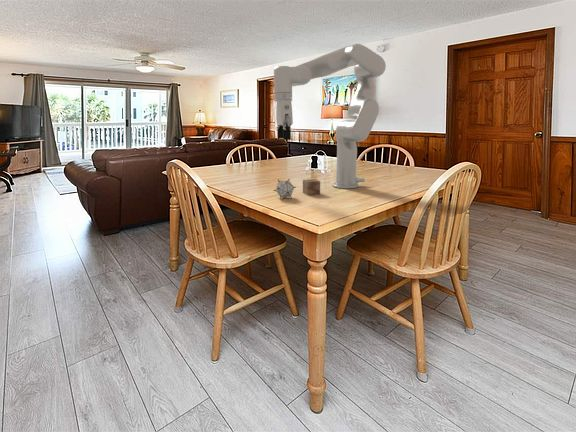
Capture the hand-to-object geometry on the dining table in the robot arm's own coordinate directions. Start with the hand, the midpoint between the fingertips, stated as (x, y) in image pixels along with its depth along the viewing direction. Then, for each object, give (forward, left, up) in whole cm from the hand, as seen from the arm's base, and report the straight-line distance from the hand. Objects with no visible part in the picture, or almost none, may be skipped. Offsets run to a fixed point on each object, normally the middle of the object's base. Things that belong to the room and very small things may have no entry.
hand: (283, 139), depth 157 cm
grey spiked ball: (+3, +10, -24) cm, 26 cm away
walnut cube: (-11, +5, -24) cm, 27 cm away
